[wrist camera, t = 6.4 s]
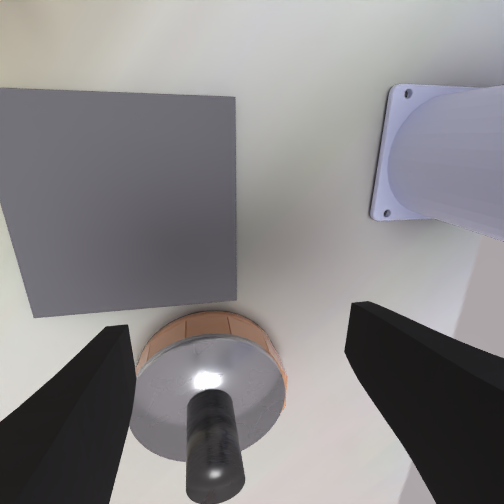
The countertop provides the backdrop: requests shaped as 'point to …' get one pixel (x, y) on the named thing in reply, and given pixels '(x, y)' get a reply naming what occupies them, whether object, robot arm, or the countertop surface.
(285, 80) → the countertop surface
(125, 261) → the mat
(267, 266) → the countertop surface
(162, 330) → the bowl
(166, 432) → the lid
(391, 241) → the countertop surface
